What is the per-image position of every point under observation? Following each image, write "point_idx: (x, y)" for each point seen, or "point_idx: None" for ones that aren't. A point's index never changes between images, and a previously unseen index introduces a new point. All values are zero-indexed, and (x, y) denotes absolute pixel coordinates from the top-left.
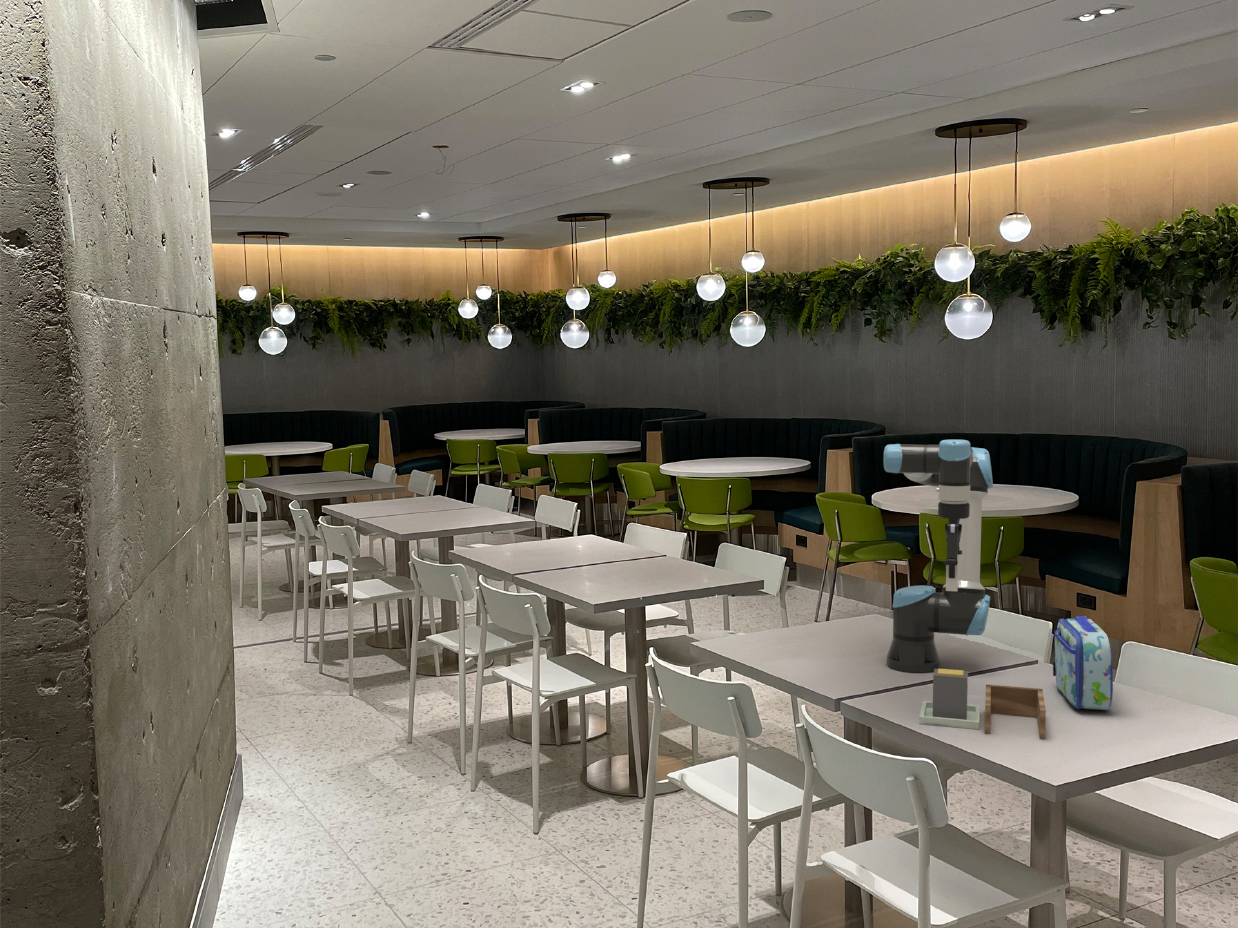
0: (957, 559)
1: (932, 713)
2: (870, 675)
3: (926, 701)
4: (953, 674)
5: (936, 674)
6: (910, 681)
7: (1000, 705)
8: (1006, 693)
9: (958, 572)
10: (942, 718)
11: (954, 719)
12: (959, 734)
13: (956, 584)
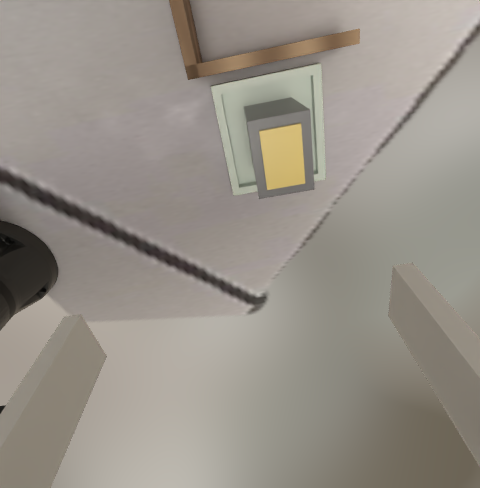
0: (4, 467)
1: None
2: (113, 297)
3: (234, 189)
4: (302, 147)
5: (305, 184)
6: (101, 242)
7: (195, 38)
8: (188, 19)
9: (59, 358)
10: (321, 139)
11: (320, 116)
12: (358, 95)
13: (437, 296)
